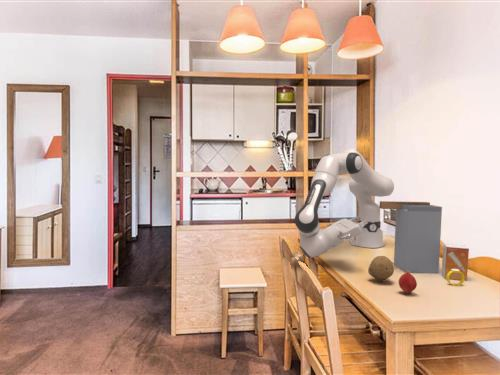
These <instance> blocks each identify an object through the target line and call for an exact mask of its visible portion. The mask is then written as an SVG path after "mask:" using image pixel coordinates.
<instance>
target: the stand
mask: <svg viewBox="0 0 500 375" xmlns="http://www.w3.org/2000/svg"><path fill="white" fill-rule="evenodd" d="M395 210H396V211H395V228H394V252H393V267H396V268H397V269H399V270H400V271H402V272H404V274H405V273H407V271H409V272H410V274H439V273H440V254H441V252H440V251H441V236H442V235H441V234H442V214H443V212H442V211H443V206H438V205H434V204H433V205H432V204H430V205H402V209H395Z"/></svg>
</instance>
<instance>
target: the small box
mask: <svg viewBox="0 0 500 375" xmlns="http://www.w3.org/2000/svg"><path fill="white" fill-rule="evenodd" d="M469 253H470V248H469V247H467V246H466V245H465V244H464V245H462V244H453V243H452V244H449V243H443V244H442V261H441V262H442V263H441V264H442V265H441V276H443V278H444V279H446V280H447V278H446V277H447V274H448V272H449V271H451V269H459V270H460V272H461V273H463V275H464V280H465V281H466V282H467V281H468V272H469V271H468V269H469V256H470V255H469ZM461 279H462V276H461V274H460V273H459V272H458V273H457V272H453V273H451V274H450V276H449V280H458V281H461Z"/></svg>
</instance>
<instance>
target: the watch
mask: <svg viewBox="0 0 500 375" xmlns="http://www.w3.org/2000/svg"><path fill="white" fill-rule="evenodd" d="M453 272H457V273H458V272H459V273H460V274H461V276H462V279H461V280H459V282H458V283H453V282H452V283H451V281H450V279H449V276H450V274H451V273H453ZM446 278H447V279H446V281H447V283H448V284H449V285H451V286H459V285H460V286H461V285H463V283H464V275H463V273H461V272H460V270H459V269H451V271H449V272H448V274H447V277H446Z"/></svg>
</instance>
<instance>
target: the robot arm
mask: <svg viewBox="0 0 500 375" xmlns="http://www.w3.org/2000/svg"><path fill="white" fill-rule="evenodd" d="M343 175H344V176H345V175H346V176H347V175H349V176H350V180H349V182H348V189H349V191H350V193H352V194H353V195H354V197H355V198H356V201H357V203H358V204H357V205H358V211H359V213H358V216H356V217H352V218H350V219H348V218H345V217H344V218H341V219H340V220H337V221H336V222H333V223H330V224H328V225H327V226H326V227H325V228H324V229H322V228H321V226H320V221H319V220H320V219H319V213H318V210H319V207H320V206H321V202H322V199H323V197H324V196H327V195H330V194H331V193H332V192H333V190H334V188H335V187H336V183H337V181H338V177H339V176H343ZM310 183H311V184H310V188H309V191H308V194H307V196H306V199H305V201H304V203H303V205H302V206H301V208H300V209H299V210H298V211H297V212H296V214H295V216H294V223H295V226H296V228H297V229H298V232H299V245H298V246H299V248H300V250H301V252H302V253H303V254H304V256H306V257H308V258H309V259H312V258H317V257H319V256H321V255H323V254H324V253H326V252H327V251H328V250H330V249H332V248H335V247H337V246H339V245H341V244H343V243H344V242H345V240H349V243H350V245H352V246H353V247H355V246H356V247H361V248H369V249H370V248H371V249H372V248H373V249H374V248H375V249H379V248H382V247H385V246H386V244H385V243H384V238H383V237H384V236H383V235H384V233H383V232H384V231H383V230H382V229H381V225H382V224H381V208H379V206H380V204H378V203H376V202H375V201H374V200H373V197H381V198H382V197H389V196H391V195H392V193H393V192H394V190H395V184H394V182H393V180H392V179H391V178H389V177H388V176H384V175H382V174H380V173H379V172H378V171H376V170H375V169H374V168H372V167H371V166H370V164H369V163H368V162H367V160H366V159H365V158H364V157H363V155H362V154H361V153H360V152H359V151H358V150H356V149H355V148H352V147H350V148H346V149H344V150H343V151H342V152H337V153H332V154H325V155H322V157H321V158H320V160H319V162H318V164H317V166H316V168H315V170H314V173H313V176H312V178H311V182H310Z"/></svg>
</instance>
